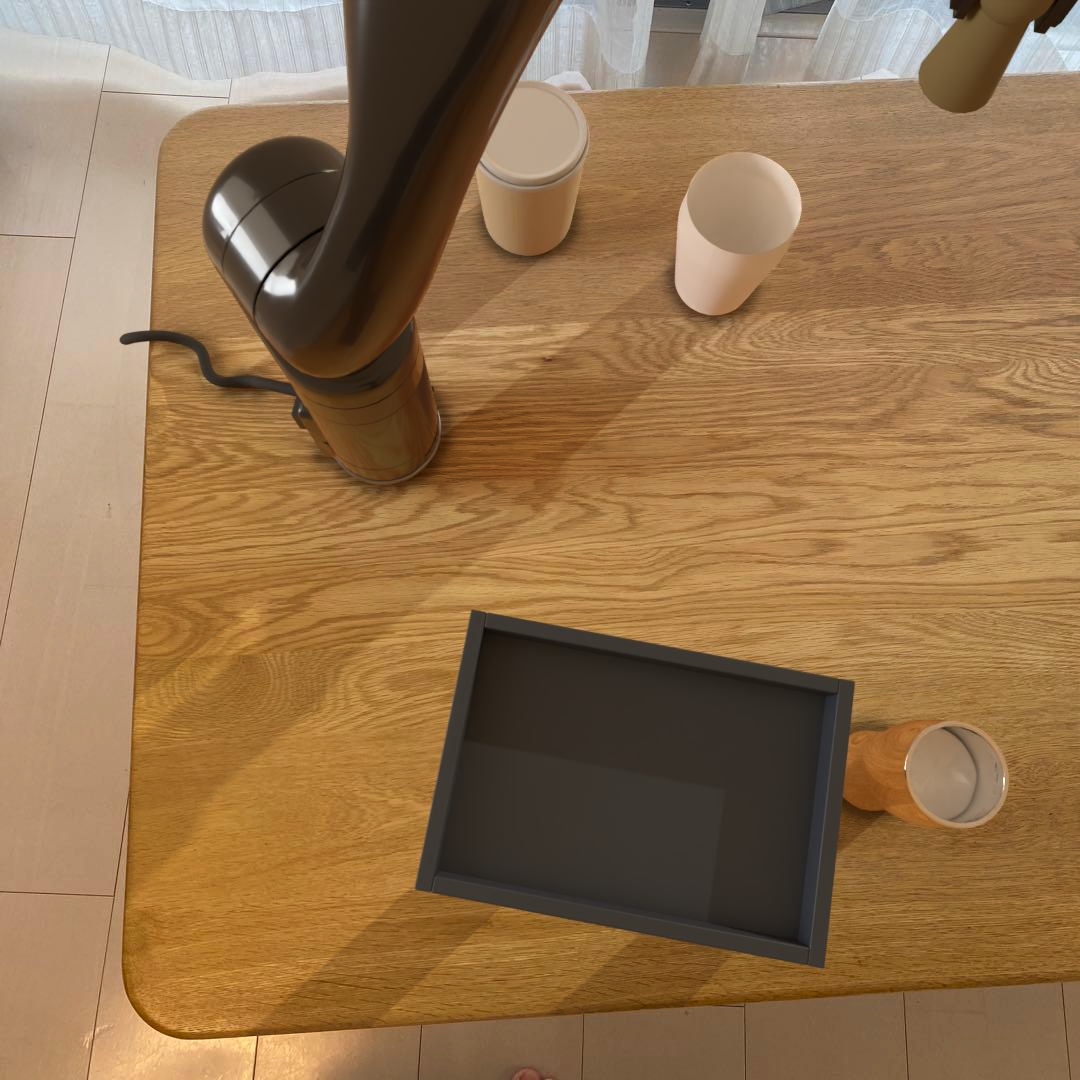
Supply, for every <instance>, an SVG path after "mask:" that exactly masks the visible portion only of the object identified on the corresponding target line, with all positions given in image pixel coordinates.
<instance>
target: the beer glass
mask: <svg viewBox="0 0 1080 1080" xmlns="http://www.w3.org/2000/svg"><path fill="white" fill-rule="evenodd" d="M1009 775H1010V773H1009V767H1008V764H1007V760H1006V758H1005V755H1004V753H1003V751H1002V750H1001V748H1000V746H999V745H998V744H997V742H996V741H995V740H994V739H993V738H992V737H991V736H990V735H989V734H988V733H986V731H984V730H983V729H981V728H979V727H978V726H975V725H973V724H971V723H969V722H966V721H961V720H945V719H932V718H928V719H926V718H925V719H916V720H915V719H914V720H909V721H904V722H900V723H898V724H896V725H892V726H891V727H889V728H886V729H885V730H884V731H882V732H880V731H876V730H869V729H866V730H865V729H864V730H858V731H855V732H852V733H851V734H849V743H848V753H847V762H846V771H845V781H844V790H843V799H845V800H846V801H847V802H848V803H849V804H850V805H852V806H853V807H856V808H858V809H861V810H864V811H869V812H878V811H886V812H888V813H889V814H891V815H892V816H894V817H896V818H898V819H900V820H902V821H904V822H907V823H910V824H914V825H916V826H920V827H926V828H933V829H934V828H936V829H971V828H976V827H978V826H981V825H983V824H985V823H987V822H989V821H990V820H991V819H993V818H994V817H995V816H996V815H997V814H998V813H999V812H1000V811H1001V809H1002V807H1003V805H1004V803H1005V801H1006V798H1007V796H1008V792H1009V787H1010V776H1009Z"/></svg>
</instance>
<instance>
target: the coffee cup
mask: <svg viewBox="0 0 1080 1080" xmlns="http://www.w3.org/2000/svg"><path fill="white" fill-rule="evenodd" d="M590 138H591V137H590V127H589V123H588V120H587V118H586V116H585V114H584V112H583V110H582V109H581V107H580V105H579V104H578V103H577V101H576V100H575V99H574V98H573V97H572V96H571V95H570V94H569V93H567V92H566V91H564V90H563V89H562V88H560V87H558V86H557V85H554V84H552V83H549V82H545V81H540V80H536V79H535V80H533V79H531V80H530V79H525V80H524V79H523V80H519V82H518V84H517V86H516V88H515V90H514V92H513V94H512V96H511V98H510V100H509V102H508V104H507V106H506V108H505V110H504V112H503V114H502V116H501V118H500V120H499V122H498V124H497V126H496V128H495V130H494V132H493V134H492V136H491V138H490V140H489V143H488V145H487V147H486V149H485V151H484V153H483V155H482V157H481V159H480V162H479V164H478V166H477V168H476V171H475V173H474V174H475V179H476V183H477V189H478V193H479V200H480V204H481V211H482V215H483V220H484V224H485V227H486V230H487V232H488V234H489V235H490V237H491V239H492V240H493V241H494V242H495V243H496V244H497V245H498V246H500V247H501V248H502V249H503V250H505V251H507V252H509V253H512V254H515V255H518V256H523V257H524V256H525V257H526V256H527V257H532V256H538V255H543V254H545V253H547V252H550V251H551V250H553V249H555V248H556V247H557V246H558V245H559V244H561V243H562V242H563V240H564V239H565V237H566V236H567V234H568V233H569V230H570V227H571V224H572V220H573V216H574V212H575V208H576V203H577V199H578V193H579V190H580V185H581V180H582V175H583V171H584V165H585V162H586V161H585V160H586V158H587V156H588V152H589V148H590V141H591V140H590Z"/></svg>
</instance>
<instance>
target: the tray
mask: <svg viewBox="0 0 1080 1080" xmlns="http://www.w3.org/2000/svg"><path fill="white" fill-rule="evenodd" d="M467 623H468V624H467V629H466V634H465V639H464V643H463V649H462V654H461V657H460V663H459V668H458V673H457V678H456V682H455V688H454V693H453V698H452V703H451V707H450V712H449V717H448V722H447V727H446V731H445V736H444V741H443V746H442V751H441V756H440V761H439V766H438V772H437V776H436V780H435V786H434V790H433V796H432V801H431V805H430V809H429V810H430V811H429V815H428V820H427V825H426V829H425V835H424V839H423V844H422V849H421V855H420V860H419V864H418V868H417V874H416V878H415V884H414V890H415V891H420V892H425V893H432V894H436V895H441V896H446V897H450V898H457V899H461V900H467V901H473V902H477V903H482V904H487V905H492V906H498V907H504V908H509V909H513V910H519V911H522V912H528V913H533V914H538V915H544V916H548V917H549V916H550V917H554V918H559V919H565V920H571V921H575V922H579V923H585V924H591V925H597V926H601V927H606V928H610V929H611V928H612V929H615V930H616V929H618V930H620V931H621V930H622V931H626V932H631V933H637V934H642V935H647V936H653V937H658V938H662V939H668V940H673V941H679V942H684V943H689V944H694V945H700V946H704V947H710V948H715V949H719V950H725V951H730V952H736V953H741V954H747V955H751V956H756V957H761V958H767V959H771V960H777V961H783V962H786V963H792V964H798V965H803V966H808V967H811V968H812V967H813V968H817V969H825V965H826V956H827V947H828V938H829V929H830V919H831V911H832V910H831V909H832V900H833V893H834V892H833V891H834V884H835V883H834V881H835V872H836V865H837V863H836V862H837V856H838V855H837V854H838V845H839V836H840V826H841V816H842V808H843V799H844V797H843V790H844V781H845V771H846V762H847V753H848V743H849V735H850V733H851V723H852V715H853V707H854V706H853V705H854V697H855V686H856V681H855V680H851V679H845V678H838V677H835V676H830V675H824V674H818V673H814V672H809V671H808V672H807V671H803V670H797V669H791V668H787V667H782V666H777V665H771V664H765V663H760V662H756V661H755V662H754V661H749V660H745V659H739V658H734V657H728V656H722V655H717V654H713V653H707V652H702V651H695V650H691V649H686V648H681V647H680V648H679V647H674V646H669V645H664V644H659V643H653V642H648V641H642V640H637V639H632V638H627V637H622V636H615V635H610V634H605V633H599V632H594V631H588V630H584V629H578V628H574V627H567V626H563V625H557V624H551V623H546V622H542V621H536V620H531V619H525V618H519V617H515V616H510V615H503V614H499V613H494V612H493V613H492V612H486V611H483V610H477V609H471V610H470V614H469V619H468V622H467Z"/></svg>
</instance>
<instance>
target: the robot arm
mask: <svg viewBox="0 0 1080 1080" xmlns="http://www.w3.org/2000/svg"><path fill="white" fill-rule="evenodd" d="M563 1H564V0H342V11H343V12H342V14H343V33H344V34H343V36H344V48H345V49H344V50H345V65H346V66H345V67H346V80H347V81H346V82H347V100H348V101H347V102H348V103H347V104H348V105H347V106H348V122H347V123H348V125H347V126H348V128H347V141H346V148H345V154H344V153H343V152H341V151H340V150H339V149H338V148H336V147H335V146H333V145H331V144H329V142H325V141H324V140H321V139H318V138H314V137H309V136H304V135H282V136H277V137H276V136H275V137H271V138H268V139H265V140H262V141H260V142H257V143H256V144H253V145H251V146H249V147H248V148H246V149H245V150H243V151H242V152H240V153H239V154H237V155H236V156H235V157H234V158H233V159H231V161H229V162H228V164H227V165H226V166H224V168H223V169H222V170H221V171H220V172H219V174H218V175H217V177H216V178H215V180H214V182H213V183H212V185H211V186H210V189H209V192H208V193H207V196H206V198H205V201H204V207H203V209H202V215H201V236H202V242H203V245H204V249H205V251H206V254H207V257H208V258H209V260H210V262H211V263H212V266H213V267H214V268H215V270H216V272H217V273H218V275H219V276H220V278H221V279H222V281H223V283H224V284H225V285H226V287H227V288H228V290H229V292H230V294H231V295H232V297H233V298H234V300H235V301H236V303H237V304H238V306H239V307H240V309H241V310H242V312H243V314H244V315H245V317H246V319H247V320H248V322H249V324H250V325H251V327H252V328H253V330H254V331H255V333H256V334H257V336H258V338H259V339H260V341H261V342H262V343H263V345H264V347H265V348H266V349H267V351H268V352H269V354H270V355H271V357H272V358H273V360H274V362H275V363H276V364H277V366H278V367H279V368H280V370H281V372H282V373H283V374H284V375H285V377H286V379H287V381H288V382H287V381H281V380H276V379H272V378H267V377H262V376H259V375H254V374H253V375H252V374H241V375H240V374H239V375H233V376H231V375H230V376H225V375H224V376H223V375H220V374H218V373H217V372H216V371H215V370H214V368H213V365H212V362H211V358H210V354H209V351H208V349H207V348H206V346H205V345H204V344H203V343H202V342H201V341H200V340H198V339H196V338H194V337H192V336H190V335H187V334H184V333H181V332H177V331H171V330H162V329H160V330H157V329H152V330H151V329H149V330H137V331H131V332H125V333H123V334H122V335H121V336H120V337H119V343H120V344H121V345H123V346H128V345H133V344H138V343H145V342H167V343H173V344H177V345H180V346H183V347H186V348H188V349H190V350H192V351H193V352H194V353H195V354H196V356H197V359H198V363H199V367H200V370H201V374H202V375H203V376H204V378H205V380H207V382H209V383H210V384H212V385H213V386H217V387H220V388H237V387H238V388H239V387H254V388H257V389H261V390H266V391H269V392H274V393H279V394H283V395H287V396H291V397H295V398H294V403H293V406H292V410H291V414H290V416H291V417H292V419H293V420H294V422H295V423H296V425H297V426H298V428H299V429H300V430H307V432H308V433H309V435H310V436H311V438H312V439H313V441H314V442H315V445H317V447H318V448H319V450H320V452H321V453H322V455H323V457H326V458H330V459H334V460H335V461H336V462H337V463H338V465H339V466H340V467H341V468H342V470H344V471H345V472H346V473H347V474H349V475H350V476H351V477H353V478H355V479H357V481H361V482H363V483H367V484H370V485H376V486H387V485H388V486H389V485H395V484H400V483H404V482H406V481H408V480H410V479H412V478H414V477H416V476H417V475H419V474H420V473H421V472H423V471H424V470H425V469H426V468H427V467H428V466H429V465H430V464H431V462H432V460H433V459H434V457H435V456H436V453H437V452H438V449H439V447H440V444H441V439H442V421H441V416H440V412H439V410H438V407H437V405H436V400H435V395H434V392H435V388H434V386H433V385H432V383H431V380H430V379H431V378H430V376H429V372H428V368H427V363H426V359H425V355H424V351H423V347H422V342H421V339H420V333H419V330H418V325H417V320H416V317H415V314H416V313H417V311H418V310H419V307H420V305H421V304H422V302H423V301H424V298H425V296H426V294H427V293H428V290H429V288H430V285H431V284H432V281H433V279H434V276H435V274H436V271H437V269H438V266H439V264H440V262H441V258H442V256H443V254H444V251H445V248H446V246H447V244H448V242H449V239H450V236H451V234H452V231H453V229H454V226H455V223H456V220H457V219H458V216H459V213H460V211H461V207H462V205H463V203H464V200H465V198H466V195H467V193H468V190H469V188H470V185H471V183H472V181H473V178H474V175H475V174H476V173H475V171H476V168H477V166H478V164H479V162H480V159H481V157H482V155H483V153H484V151H485V149H486V147H487V145H488V143H489V140H490V138H491V136H492V134H493V132H494V130H495V128H496V126H497V124H498V122H499V120H500V118H501V116H502V114H503V112H504V110H505V108H506V106H507V104H508V102H509V100H510V98H511V96H512V94H513V92H514V90H515V88H516V86H517V84H518V82H519V81H521V77H522V76H523V74H524V72H525V70H526V68H527V66H528V64H529V62H530V60H531V58H532V57H533V55H534V53H535V51H536V49H537V47H538V45H539V43H540V42H541V40H542V39H543V36H544V35H545V33H546V31H547V29H548V28H549V26H550V25H551V22H552V20H553V19H554V17H555V15H556V14H557V12H558V10H559V8H560V6H561V5H562V3H563ZM1078 1H1079V0H1055V1H1054V2H1053V3H1052V5H1051V6H1050V7H1049V9H1048V10H1047V11H1046V12H1045V13H1044V14H1043V15H1042V16H1040V17H1039V18H1037V19H1036V20H1034V21H1033V33H1036V34H1040V35H1045V34H1046V33H1048V31H1049V29H1051V28H1054V29H1055V28H1056V27H1057V26H1059V25H1061V24H1062V23H1063V21H1064V20H1065V19H1066V17H1067V16H1068V15H1069V13H1070V12H1071V11H1072V9H1073V8H1074V7H1075V5H1076V4H1077V3H1078ZM974 2H975V0H949V10H951V11H952V19H956V20H957V19H961V20H963V19H964V18H965V17H966V15H967V13H968V12H969V10H970V8H971V7H972V5H973V4H974Z"/></svg>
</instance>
